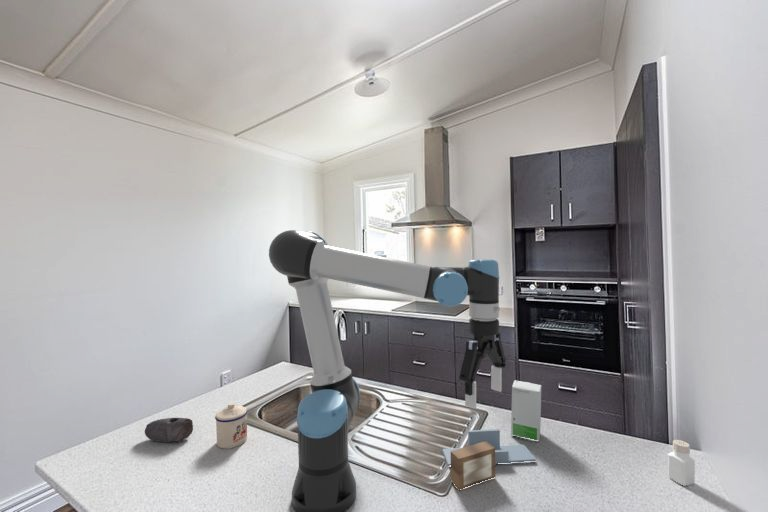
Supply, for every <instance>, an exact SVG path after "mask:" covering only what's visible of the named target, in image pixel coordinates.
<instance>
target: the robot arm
mask: <svg viewBox="0 0 768 512" xmlns="http://www.w3.org/2000/svg"><path fill="white" fill-rule="evenodd" d="M268 256H269V262H270V264H271V265H272V267H273V269H274V270H275V271H277V272H278V273H279V274H281V275H284V276H286V277H287V278H286V279H287V282H288V285H289V286H290V287H292V288H294V289H295V291H296V297H297V301H298V306H299V310H300V315H301V320H302V324H303V330H304V334H305V339H306V344H307V348H308V352H309V353H308V354H309V357H310V361H311V365H312V370H313V375H312V377H311V378H310V381H309V385H310V388H311V393H308V394H307V395H305V396H304V397H303V398H302V399H301V401H300V402H299V404H298V407H297V415H296V424H297V425H296V426H297V447H298V448H297V450H298V469H297V472H296V476H295V478H294V479H295V480H294V482H293V486H292V489H291V505H292V508H293V510H294V511H295V512H346V511H347V510H348V509H349V508H350V507H351V506H352V505H353V504H354V502H355V499H356V497H357V483H356V478H355V475H354V473H353V470H352V468H351V465H350V463H349V441H348V440H349V439H348V437H349V430H350V428H351V424H352V421H353V419H354V417H355V415H356V412H357V411H358V409H359V406H360V405H359V404H360V400H361V392H360V386H359V385H358V382H357V381H356V380H355V379H354V378H353V372H352V369H351V368H349V367H348V366H346V365H345V361H344V356H343V353H342V348H341V347H342V346H341V342H340V337H339V333H338V328H337V325H336V324H337V323H336V319H335V315H334V310H333V305H332V301H331V296H330V291H329V288H328V280H333V281H338V282H343V283H348V284H352V285H353V284H354V285H359V286H363V287H366V288H367V287H369V288H373V289H378V290H382V291H388V292H393V293H395V294H402V295H407V296H411V297H416V298H421V299H425V300H428V301H429V300H430V301H432V302H433V301H434V302H438V303H439V304H441V305H443V306H445V307H456V306H458V305H460V304H462V303H463V302H464V301H465V300H466V299H467V296H468V298H469V299H468V303H469V304H468V305H469V306H468V307H469V308H468V310H469V311H468V312H469V313H468V316H469V320H468V321H469V323H468V324H469V326H468V327H469V329H468V330H469V331H468V332H469V333H470V334H472V335H473V339H472V340H466V341H465V343H466V344H465V352H464V356H463V360H462V365H461V368H460V373H459V376H458V377H459V381H463V382H464V401H465V402H464V403H465V404H464V406H466V407H468V408H472V409H477V381H476V377H477V374H478V371H479V369H480V365H481V364H482V363H481V362H482V360H483V359H484V358H485V357H486V355H487V356H488V358H489V359H490V362H491V363H492V365H491V368H490V371H491V372H490V376H491V377H490V380H491V381H490V382H491V383H490V385H491V386H490V387H491V390H492V391H496V392H498V393H499V392H500V393H501V392H502V388H503V386H502V385H503V384H502V382H503V379H502V375H503V374H502V370H503V369H502V368H506V362H507V360H506V356H505V351H504V348H503V344H502V339H501V333H500V321H499V319H498V318H499V317H500V316H499V315H500V310H501V308H500V299H499V298H500V295H499V293H500V271H499V263H498V261H497V260H495V259H491V258H490V259H487V258H484V259H481V258H480V259H470V260H469V262H468V266H463V267H458V266H457V267H453V266H452V267H447V266H445V267H444V266H441V267H439V266H433V267H432V266H430V265H425V264H424V265H423V264H419V263H414V262H408V261H403V260H399V259H395V258H390V257H383V256H380V255H374V254H371V253H365V252H364V253H363V252H361V251H355V250H350V249H345V248H341V247H340V248H339V247H335V246H329V244H328V243H327V241H326V240H325V239H324V238H323V237H322V236H321V235H319V234H317V233H315V232H313V231H308V230H305V231H303V230H297V229H291V230H286V231H282V232H281V233H279V234H277V235H276V236H275V237H274V238H273V240H272V241H271V243H270V245H269V249H268Z"/></svg>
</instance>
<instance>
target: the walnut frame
mask: <svg viewBox="0 0 768 512" xmlns="http://www.w3.org/2000/svg"><path fill="white" fill-rule="evenodd" d="M459 448H460V449H457V450H453V451H451V468H450V480H451V479H452V481H453V483H454V484H455V486H456V487H457V488H458V489H459V490H460V489H463V488H465V487H468V486H471V485H473V484H476V483H480V482H482V481H485V480H488V479H491V478H494V477H495V478H496V465H495V448H494V447H493V446H492V445H490V444H489V443H488V442H487V441H484V442H481V443H477V444H474V445H470V446H468V445H467V446H464V447H459ZM455 486H454V487H455ZM456 487H455V488H456ZM457 488H456V489H457ZM458 489H457V490H458ZM459 490H458V491H459Z"/></svg>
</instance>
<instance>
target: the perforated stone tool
mask: <svg viewBox="0 0 768 512" xmlns="http://www.w3.org/2000/svg"><path fill="white" fill-rule="evenodd" d="M193 430H194V425H193V420H192V419H191V418H187V417H168V418H161V419H156V420H153V421H150V422H149V423H148V424H146V425H145V429H144V435H145V437H146V438H148V439H149V440H151V441H152V442H153V441H154V442H160V443H161V442H162V443H172V442H173V443H174V442H178V443H180V442H183V441H184V440H186V439H188V438H189V437H190V435H191V434H192V433H193Z"/></svg>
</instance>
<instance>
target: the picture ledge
mask: <svg viewBox="0 0 768 512" xmlns="http://www.w3.org/2000/svg"><path fill="white" fill-rule="evenodd" d="M484 441H487V442H488V443H489V444H490V445H492V446H493V447H494V448H495V464H498V463H511V462H524V461H536V462H537V459H536V457H535V456H534V455H533V454H532V452H531V451H530V450H529V449H528V448H527V446H526V445H525V444H512V445H511V444H509V445H501V431H500V429H499V428H495V429H493V428H492V429H475V430H473V429H472V430H471V429H470V430H467V443H468V445H467V446H470V445H474V444H477V443H481V442H484ZM460 448H461V447H454V448H452V447H451V448H442V454H443V457H444V459H445V462H447V463H446V464H448V465H447V467H448V466H449V465H451V451H453V450H457V449H460Z"/></svg>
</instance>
